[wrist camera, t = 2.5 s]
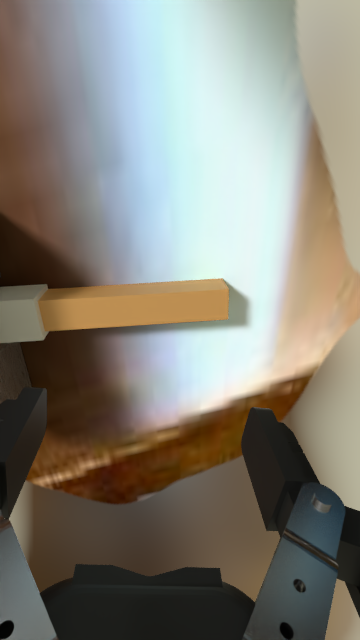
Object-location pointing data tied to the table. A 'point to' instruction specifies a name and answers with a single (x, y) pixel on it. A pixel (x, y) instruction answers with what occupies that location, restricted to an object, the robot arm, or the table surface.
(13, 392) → the block
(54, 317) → the wooden handle
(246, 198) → the table surface
